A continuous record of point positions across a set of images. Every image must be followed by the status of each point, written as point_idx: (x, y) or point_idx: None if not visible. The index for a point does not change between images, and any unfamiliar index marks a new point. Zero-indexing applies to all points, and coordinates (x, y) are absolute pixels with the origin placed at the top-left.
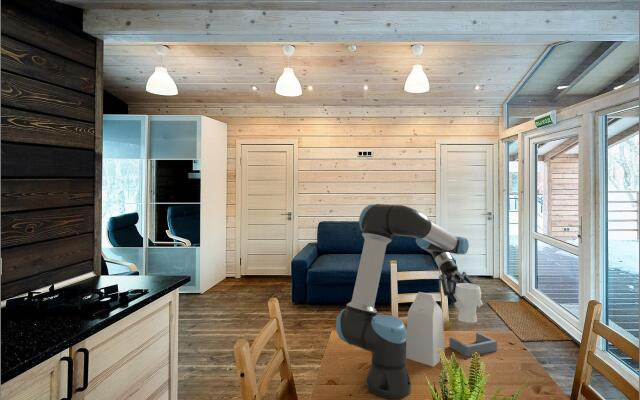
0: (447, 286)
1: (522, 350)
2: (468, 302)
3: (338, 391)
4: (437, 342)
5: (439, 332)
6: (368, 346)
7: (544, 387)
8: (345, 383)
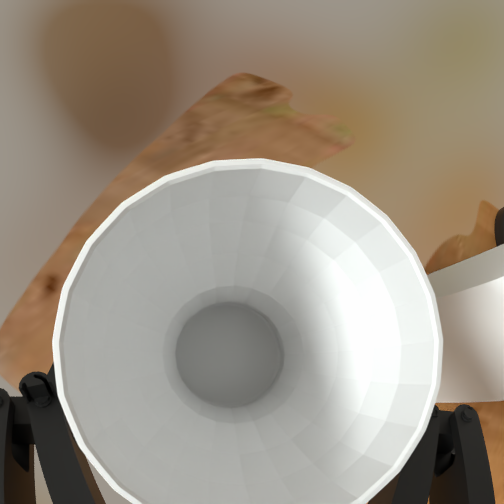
0: (472, 473)
1: (73, 228)
2: (319, 266)
3: None
4: (449, 274)
5: (457, 277)
6: None
7: (241, 89)
8: None
